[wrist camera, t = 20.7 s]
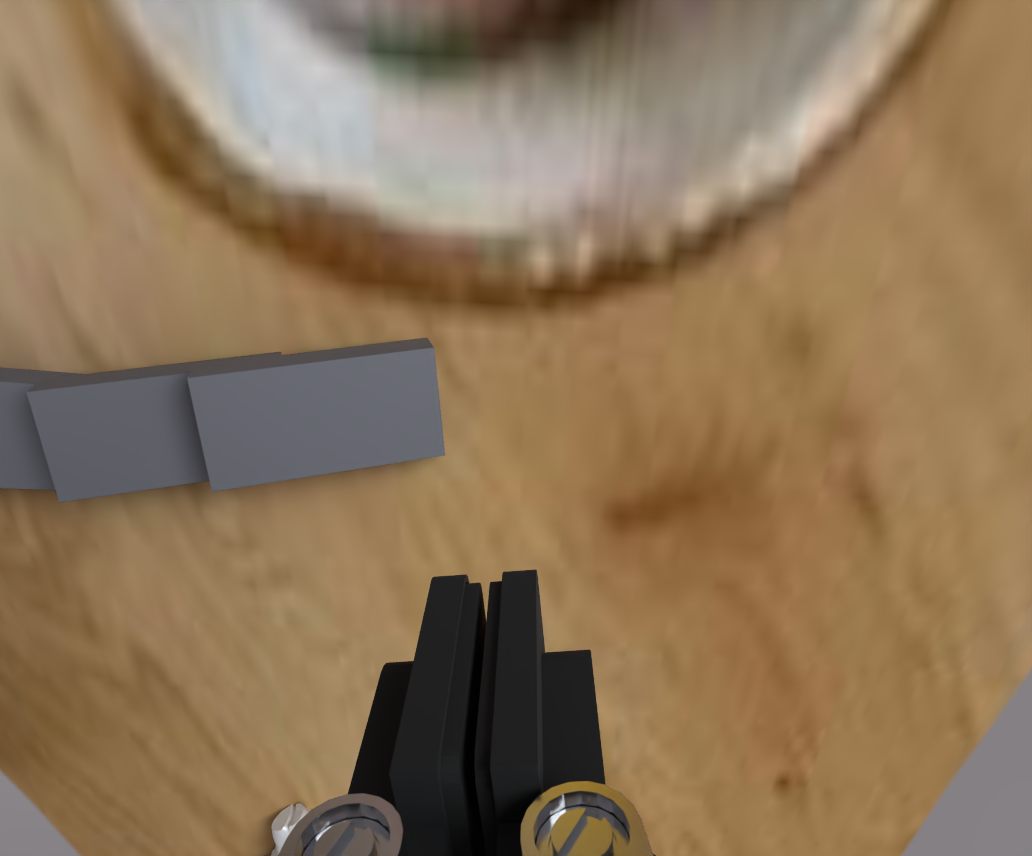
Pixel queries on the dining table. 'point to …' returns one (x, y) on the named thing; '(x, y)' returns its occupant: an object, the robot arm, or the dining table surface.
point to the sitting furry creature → (286, 824)
